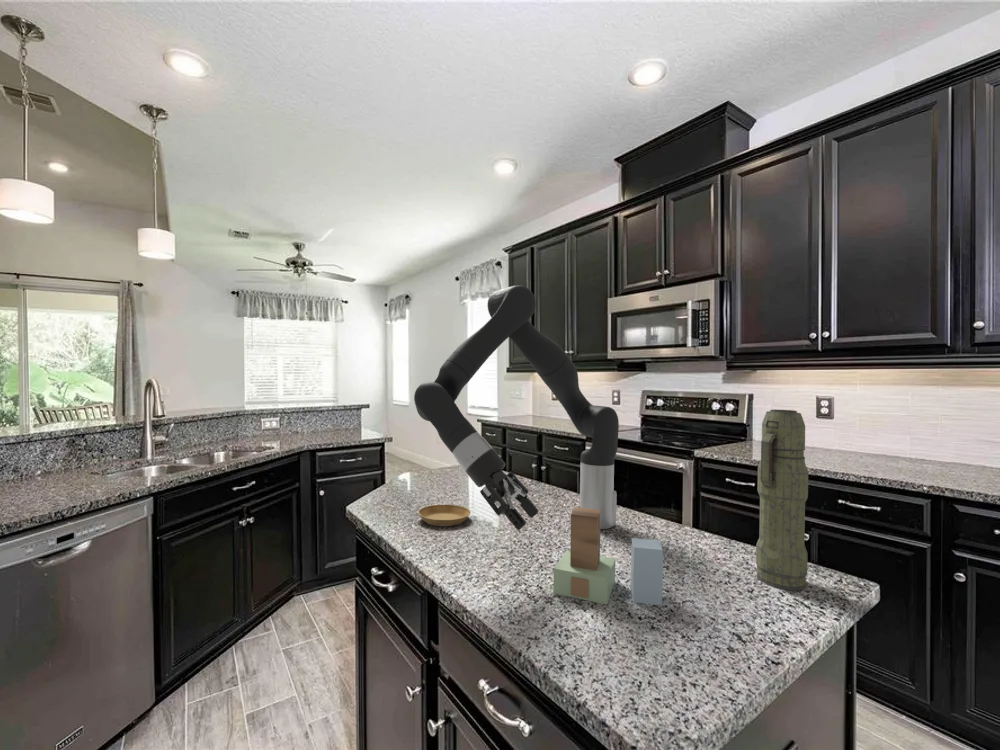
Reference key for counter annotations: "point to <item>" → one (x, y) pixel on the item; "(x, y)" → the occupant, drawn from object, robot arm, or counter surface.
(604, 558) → the base block
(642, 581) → the slate block
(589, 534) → the walnut block
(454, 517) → the plant saucer
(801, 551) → the thermos
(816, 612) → the counter surface
